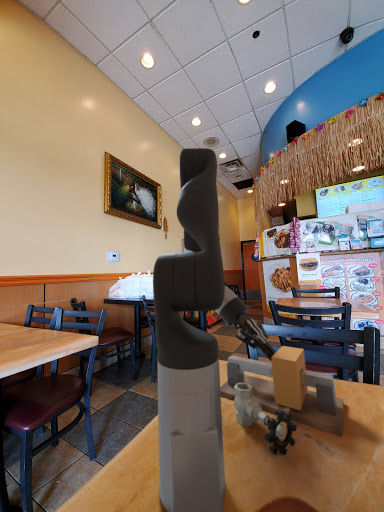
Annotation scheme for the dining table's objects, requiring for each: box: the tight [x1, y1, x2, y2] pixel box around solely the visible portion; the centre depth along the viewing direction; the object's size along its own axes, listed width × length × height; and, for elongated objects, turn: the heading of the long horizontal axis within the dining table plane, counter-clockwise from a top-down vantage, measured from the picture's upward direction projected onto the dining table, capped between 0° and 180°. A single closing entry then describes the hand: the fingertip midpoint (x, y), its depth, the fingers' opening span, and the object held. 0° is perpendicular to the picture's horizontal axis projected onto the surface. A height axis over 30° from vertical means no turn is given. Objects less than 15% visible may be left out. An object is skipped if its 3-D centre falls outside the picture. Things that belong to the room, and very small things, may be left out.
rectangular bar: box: [226, 355, 337, 416], centre depth 51 cm, size 24×4×7 cm, turn 53°
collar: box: [271, 345, 309, 410], centre depth 49 cm, size 5×10×10 cm, turn 143°
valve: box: [233, 383, 298, 456], centre depth 40 cm, size 7×7×12 cm
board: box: [220, 373, 345, 436], centre depth 50 cm, size 26×12×1 cm, turn 53°
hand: (275, 358), depth 51 cm, fingers closed
